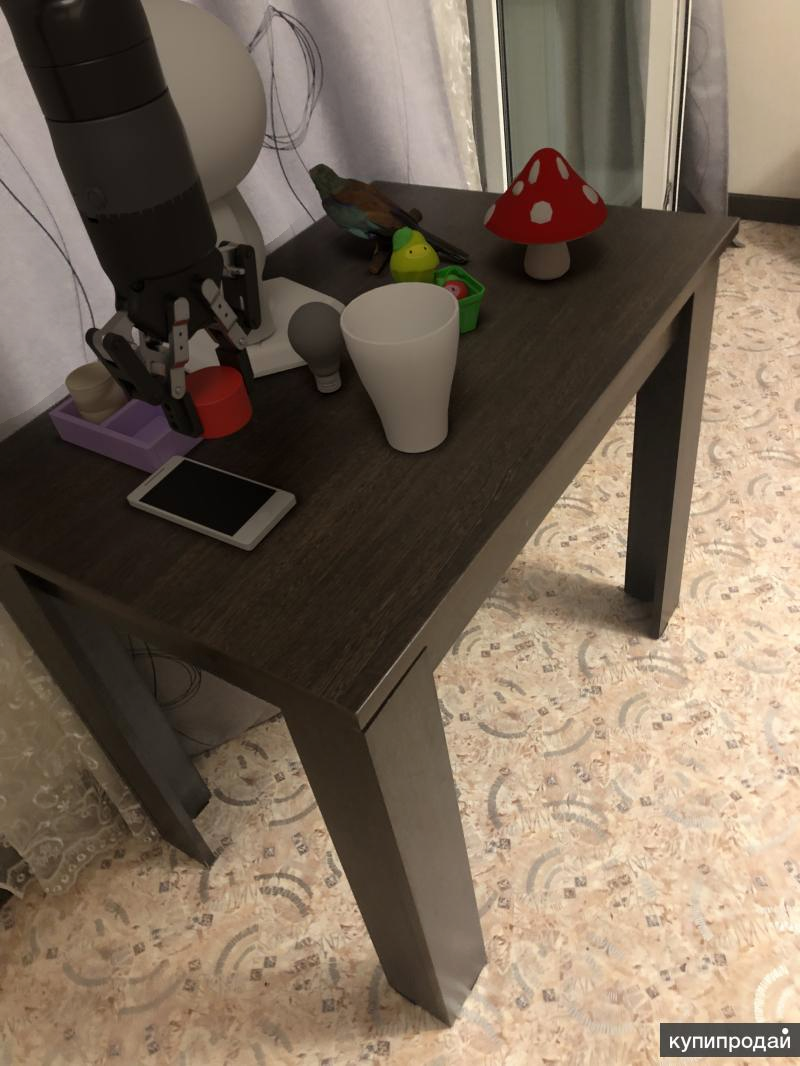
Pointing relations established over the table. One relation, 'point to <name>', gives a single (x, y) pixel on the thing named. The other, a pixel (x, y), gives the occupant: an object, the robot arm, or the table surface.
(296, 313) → the light bulb
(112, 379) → the ivory token
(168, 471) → the smartphone
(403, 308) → the cup
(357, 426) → the table surface
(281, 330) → the white cartoon figure
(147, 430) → the purple divided tray
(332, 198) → the bird figurine
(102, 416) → the ivory token
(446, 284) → the fruit basket
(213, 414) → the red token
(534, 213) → the decorative mushroom
